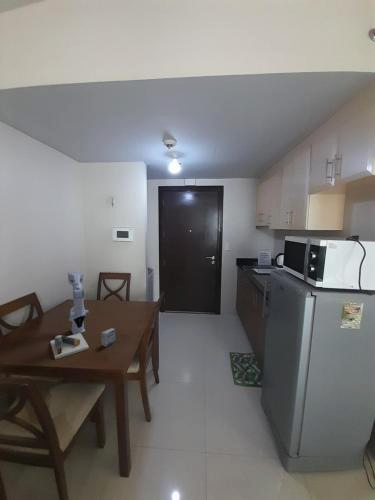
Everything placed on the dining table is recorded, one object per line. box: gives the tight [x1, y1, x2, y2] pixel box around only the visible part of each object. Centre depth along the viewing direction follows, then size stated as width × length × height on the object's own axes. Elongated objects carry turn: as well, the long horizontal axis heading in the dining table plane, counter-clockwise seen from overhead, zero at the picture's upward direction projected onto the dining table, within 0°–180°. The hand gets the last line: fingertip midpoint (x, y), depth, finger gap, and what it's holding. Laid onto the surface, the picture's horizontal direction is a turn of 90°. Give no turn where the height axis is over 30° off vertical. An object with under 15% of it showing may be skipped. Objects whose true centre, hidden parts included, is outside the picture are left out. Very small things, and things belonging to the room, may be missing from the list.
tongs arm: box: [54, 334, 80, 346], centre depth 136 cm, size 16×4×4 cm, turn 73°
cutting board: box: [50, 333, 90, 360], centre depth 137 cm, size 22×18×2 cm
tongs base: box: [53, 338, 62, 354], centre depth 133 cm, size 17×5×3 cm, turn 38°
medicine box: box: [100, 327, 117, 347], centre depth 140 cm, size 8×4×9 cm, turn 151°
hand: (79, 327), depth 143 cm, fingers closed
